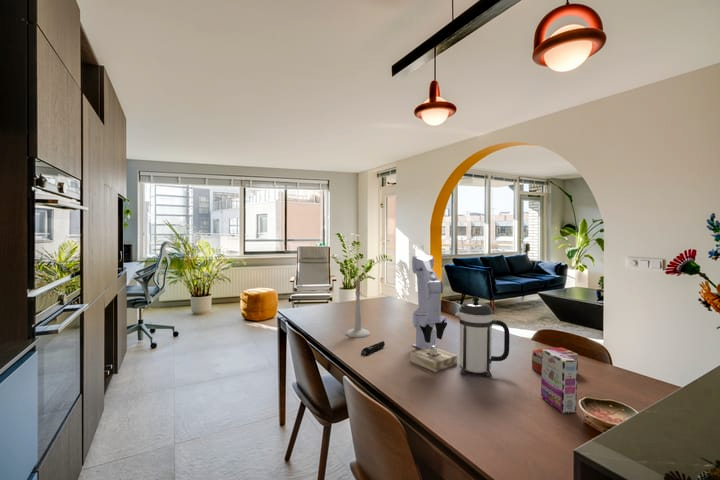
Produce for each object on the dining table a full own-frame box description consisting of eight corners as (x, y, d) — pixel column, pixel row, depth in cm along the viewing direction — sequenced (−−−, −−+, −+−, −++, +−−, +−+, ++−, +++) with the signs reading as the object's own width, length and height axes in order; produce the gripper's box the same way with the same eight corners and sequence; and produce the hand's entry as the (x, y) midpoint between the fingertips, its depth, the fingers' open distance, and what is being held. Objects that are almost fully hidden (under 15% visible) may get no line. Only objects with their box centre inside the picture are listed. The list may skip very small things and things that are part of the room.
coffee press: (477, 383, 126) (478, 302, 125) (447, 367, 140) (448, 294, 140) (510, 374, 134) (511, 298, 133) (478, 360, 148) (479, 291, 148)
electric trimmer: (386, 348, 165) (386, 341, 165) (366, 356, 153) (366, 349, 153) (380, 346, 168) (380, 340, 168) (360, 354, 156) (360, 347, 156)
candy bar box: (577, 413, 106) (578, 360, 105) (562, 414, 105) (563, 361, 105) (554, 396, 117) (555, 348, 117) (540, 396, 117) (541, 348, 116)
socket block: (431, 353, 156) (431, 346, 156) (457, 363, 145) (457, 355, 145) (409, 361, 148) (409, 353, 147) (435, 371, 137) (435, 363, 136)
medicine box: (546, 377, 132) (547, 357, 132) (531, 369, 140) (531, 350, 140) (578, 373, 136) (578, 353, 136) (561, 365, 144) (561, 346, 144)
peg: (431, 360, 149) (431, 344, 149) (438, 362, 147) (438, 345, 146) (427, 362, 146) (427, 346, 146) (434, 364, 144) (434, 347, 144)
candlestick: (374, 333, 188) (374, 278, 187) (361, 339, 177) (361, 281, 176) (354, 329, 195) (354, 276, 194) (341, 335, 184) (341, 279, 183)
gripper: (429, 313, 138) (429, 346, 139) (452, 308, 147) (451, 339, 148) (416, 309, 144) (416, 341, 144) (439, 305, 153) (438, 335, 153)
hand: (433, 340), depth 146 cm, fingers open, 7 cm apart
